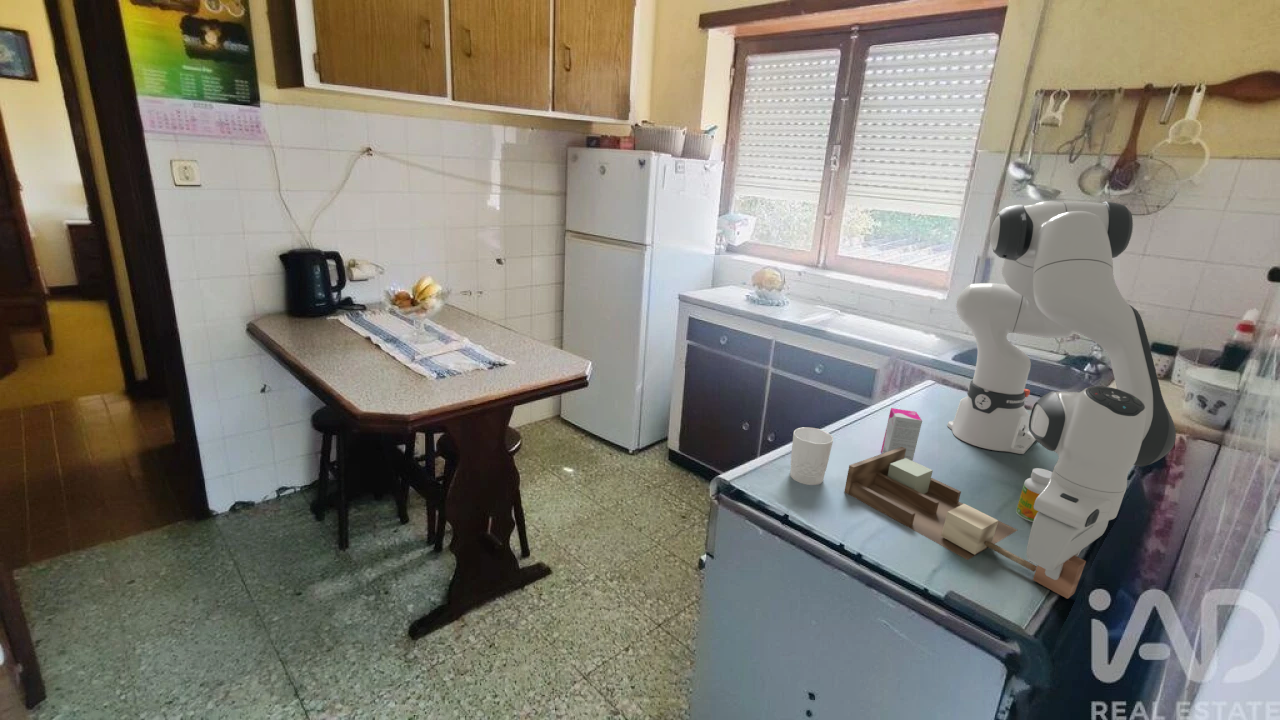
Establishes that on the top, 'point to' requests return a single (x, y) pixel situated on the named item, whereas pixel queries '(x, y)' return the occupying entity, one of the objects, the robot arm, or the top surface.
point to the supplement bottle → (1032, 493)
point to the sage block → (911, 474)
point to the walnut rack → (909, 500)
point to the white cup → (810, 455)
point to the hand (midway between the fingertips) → (1057, 572)
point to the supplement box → (902, 432)
